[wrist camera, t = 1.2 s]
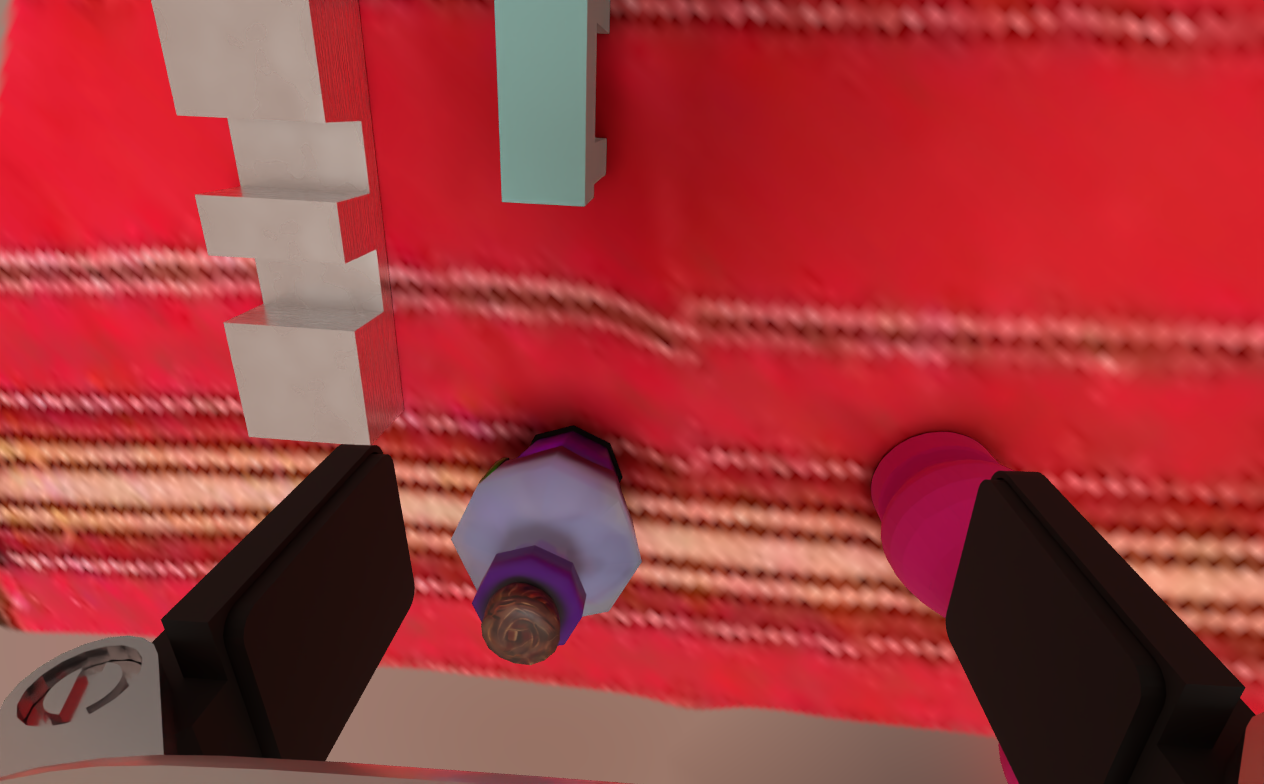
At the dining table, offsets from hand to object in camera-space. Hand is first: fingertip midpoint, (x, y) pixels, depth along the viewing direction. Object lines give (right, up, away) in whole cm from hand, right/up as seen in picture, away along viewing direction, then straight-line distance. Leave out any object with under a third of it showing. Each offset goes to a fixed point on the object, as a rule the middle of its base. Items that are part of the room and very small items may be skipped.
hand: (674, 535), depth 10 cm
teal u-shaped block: (-3, +15, +17) cm, 23 cm away
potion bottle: (-4, -2, +25) cm, 25 cm away
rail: (-15, +11, +20) cm, 27 cm away
